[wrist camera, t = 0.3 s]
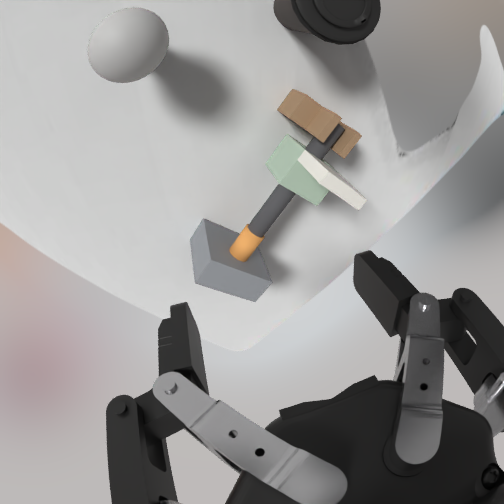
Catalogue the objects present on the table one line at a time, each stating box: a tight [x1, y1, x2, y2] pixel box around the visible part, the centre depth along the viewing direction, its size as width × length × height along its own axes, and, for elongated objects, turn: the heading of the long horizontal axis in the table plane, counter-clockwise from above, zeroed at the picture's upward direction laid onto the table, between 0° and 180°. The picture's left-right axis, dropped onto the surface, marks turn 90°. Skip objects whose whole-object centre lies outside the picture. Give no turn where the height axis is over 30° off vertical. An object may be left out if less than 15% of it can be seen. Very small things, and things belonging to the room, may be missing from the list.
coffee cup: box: [274, 0, 381, 45], centre depth 19 cm, size 8×8×10 cm
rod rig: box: [190, 89, 362, 302], centre depth 33 cm, size 23×8×8 cm, turn 145°
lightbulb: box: [88, 8, 169, 83], centre depth 18 cm, size 6×6×11 cm
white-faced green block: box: [266, 134, 367, 211], centre depth 28 cm, size 4×5×10 cm
